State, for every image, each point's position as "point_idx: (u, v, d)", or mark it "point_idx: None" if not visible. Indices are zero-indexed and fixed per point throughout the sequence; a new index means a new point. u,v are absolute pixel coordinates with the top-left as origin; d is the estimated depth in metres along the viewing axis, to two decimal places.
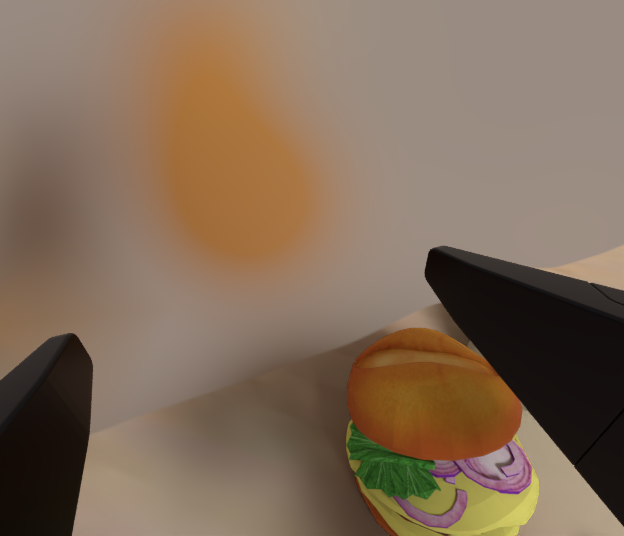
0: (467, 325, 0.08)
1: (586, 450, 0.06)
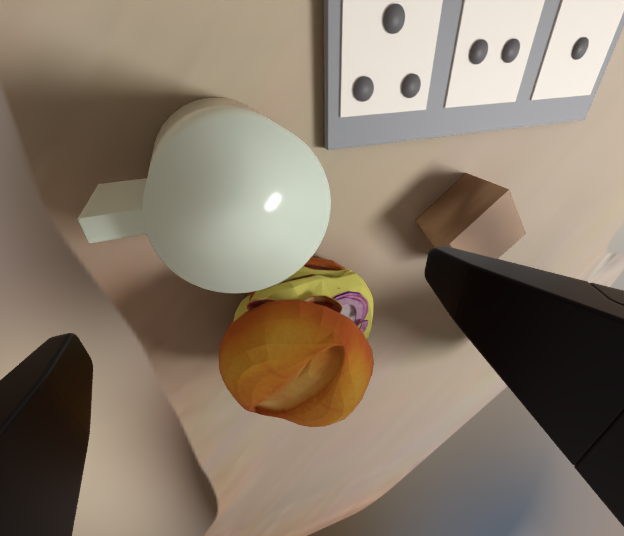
0: (467, 325, 0.08)
1: (587, 450, 0.06)
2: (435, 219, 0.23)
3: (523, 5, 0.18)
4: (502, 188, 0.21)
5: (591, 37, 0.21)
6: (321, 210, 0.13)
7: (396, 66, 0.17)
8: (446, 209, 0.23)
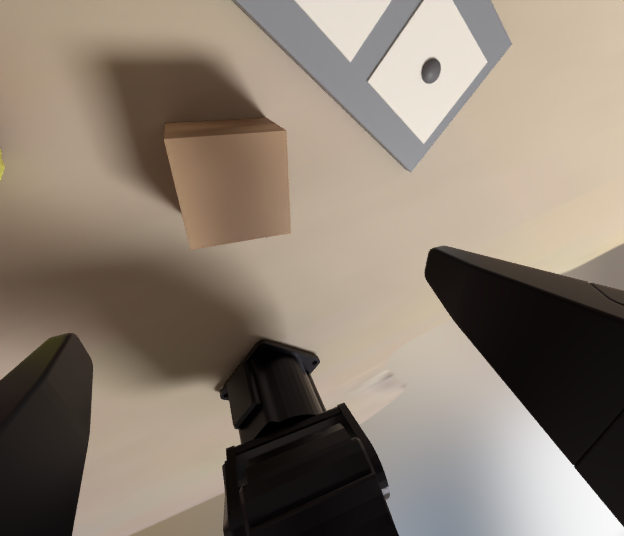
0: (467, 325, 0.08)
1: (586, 450, 0.06)
2: (186, 126, 0.15)
3: None
4: (281, 129, 0.14)
5: (444, 73, 0.18)
6: None
7: None
8: (208, 125, 0.15)
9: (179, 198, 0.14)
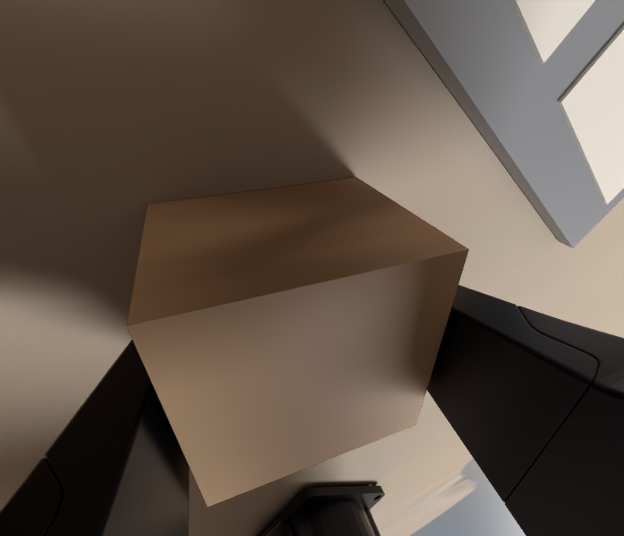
0: None
1: (513, 487, 0.06)
2: (196, 225, 0.06)
3: None
4: (445, 238, 0.05)
5: None
6: None
7: None
8: (249, 217, 0.06)
9: (180, 437, 0.05)
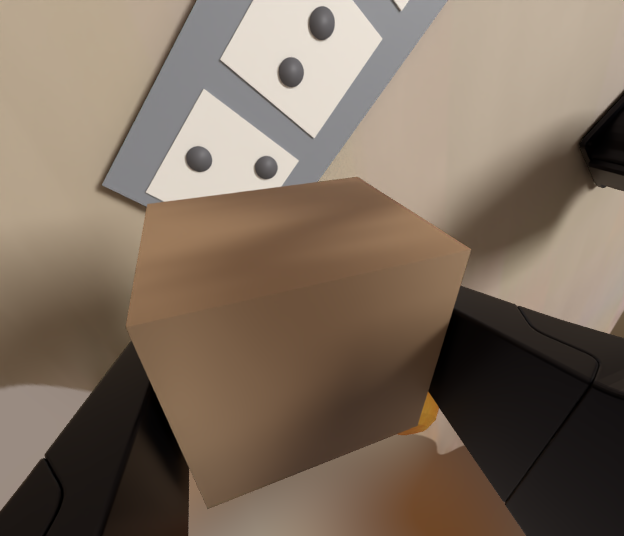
0: None
1: (514, 488, 0.06)
2: (196, 225, 0.06)
3: None
4: (447, 238, 0.05)
5: None
6: None
7: (239, 174, 0.17)
8: (249, 217, 0.06)
9: (180, 439, 0.05)
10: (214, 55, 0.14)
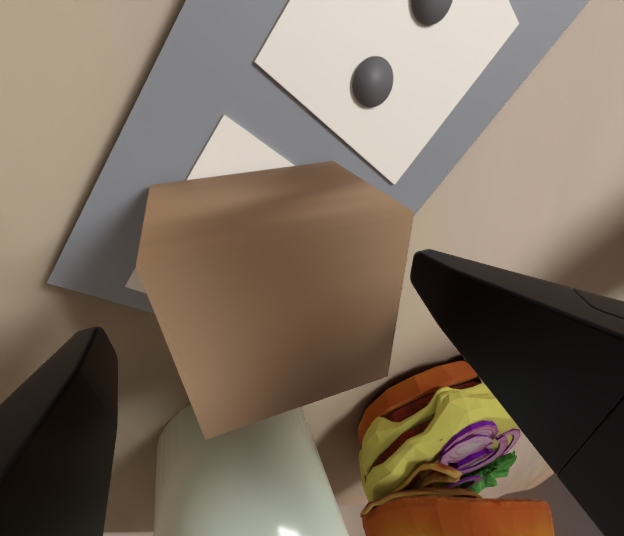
0: (451, 330, 0.08)
1: (568, 459, 0.06)
2: (191, 199, 0.07)
3: None
4: (397, 204, 0.07)
5: None
6: None
7: None
8: (236, 192, 0.07)
9: (180, 369, 0.06)
10: (243, 54, 0.07)
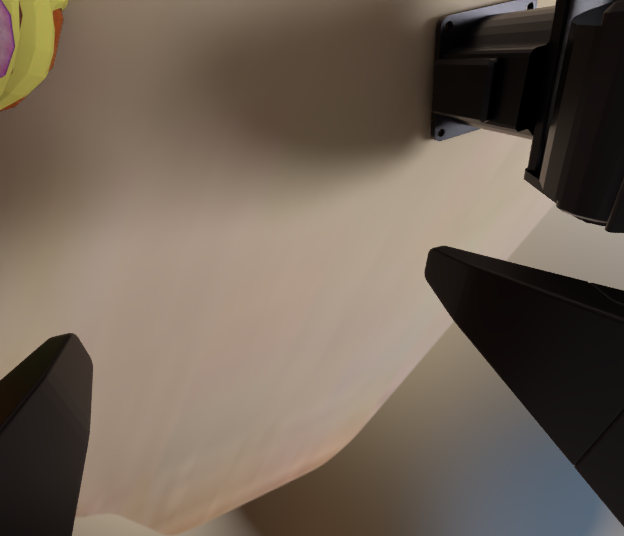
0: (467, 325, 0.08)
1: (586, 449, 0.06)
2: None
3: None
4: None
5: None
6: None
7: None
8: None
9: None
10: None
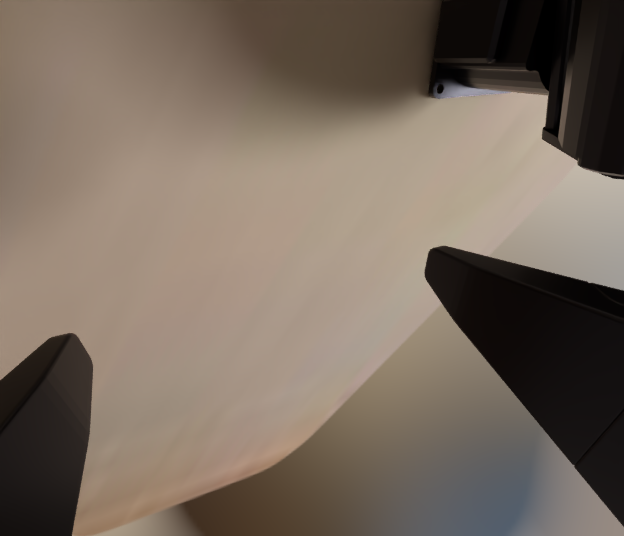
0: (467, 325, 0.08)
1: (586, 450, 0.06)
2: None
3: None
4: None
5: None
6: None
7: None
8: None
9: None
10: None
